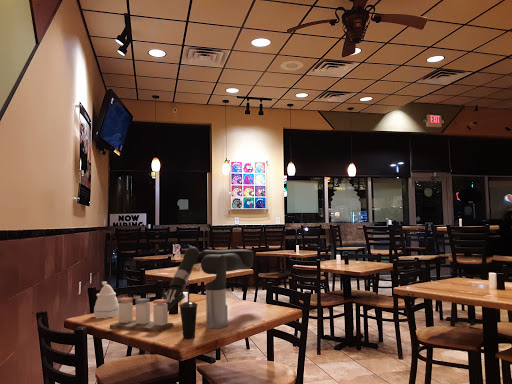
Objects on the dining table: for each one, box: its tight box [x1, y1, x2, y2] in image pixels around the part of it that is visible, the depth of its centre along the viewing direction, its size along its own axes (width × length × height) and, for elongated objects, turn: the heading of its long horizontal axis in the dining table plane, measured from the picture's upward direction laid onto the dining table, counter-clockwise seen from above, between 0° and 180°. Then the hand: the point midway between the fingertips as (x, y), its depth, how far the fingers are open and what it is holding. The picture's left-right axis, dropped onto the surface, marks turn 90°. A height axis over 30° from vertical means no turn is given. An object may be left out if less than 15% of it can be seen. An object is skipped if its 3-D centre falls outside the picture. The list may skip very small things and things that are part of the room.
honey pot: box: [93, 281, 119, 319], centre depth 222 cm, size 13×13×18 cm
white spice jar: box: [117, 297, 134, 323], centre depth 199 cm, size 5×4×11 cm
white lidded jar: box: [135, 297, 151, 324], centre depth 195 cm, size 5×4×11 cm
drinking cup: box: [179, 289, 198, 340], centre depth 175 cm, size 8×8×20 cm
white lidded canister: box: [152, 298, 169, 326], centre depth 191 cm, size 5×4×11 cm
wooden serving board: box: [109, 319, 174, 333], centre depth 194 cm, size 28×11×2 cm, turn 68°
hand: (166, 310), depth 197 cm, fingers closed
